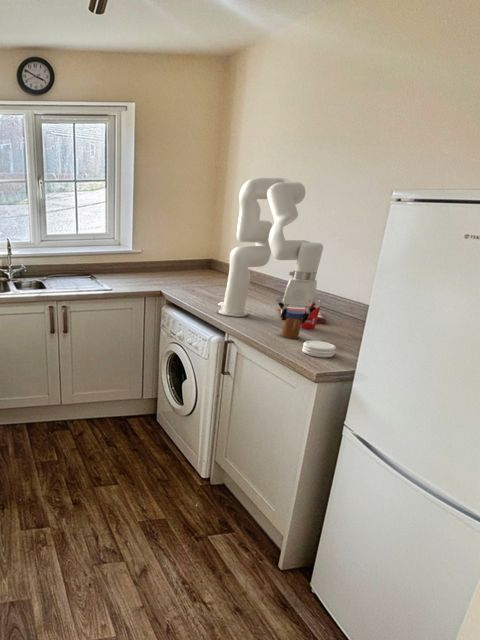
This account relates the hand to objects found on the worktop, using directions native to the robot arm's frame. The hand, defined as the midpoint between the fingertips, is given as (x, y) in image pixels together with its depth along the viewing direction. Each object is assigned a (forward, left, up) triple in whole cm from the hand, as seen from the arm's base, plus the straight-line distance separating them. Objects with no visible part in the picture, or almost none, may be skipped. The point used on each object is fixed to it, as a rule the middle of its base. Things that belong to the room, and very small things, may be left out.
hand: (293, 320), depth 182 cm
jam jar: (0, 0, -7) cm, 7 cm away
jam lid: (0, 0, +3) cm, 3 cm away
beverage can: (-6, +18, -7) cm, 20 cm away
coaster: (+19, -9, -7) cm, 22 cm away
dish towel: (-22, +34, -7) cm, 41 cm away
